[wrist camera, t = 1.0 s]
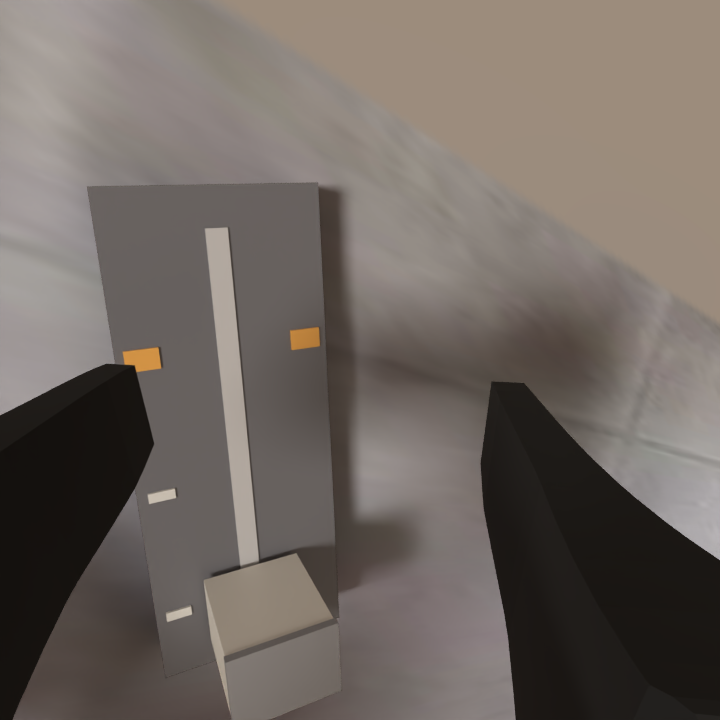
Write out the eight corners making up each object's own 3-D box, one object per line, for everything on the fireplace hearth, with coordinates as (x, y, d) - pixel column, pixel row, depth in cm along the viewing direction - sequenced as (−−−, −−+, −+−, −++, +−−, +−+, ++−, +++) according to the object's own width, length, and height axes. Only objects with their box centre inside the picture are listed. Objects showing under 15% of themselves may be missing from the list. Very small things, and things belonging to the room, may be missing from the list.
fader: (301, 610, 25) (341, 690, 21) (210, 640, 24) (233, 734, 19) (297, 551, 24) (338, 623, 20) (202, 579, 23) (225, 663, 19)
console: (324, 592, 28) (340, 618, 27) (160, 645, 25) (165, 679, 24) (301, 184, 23) (318, 182, 21) (88, 188, 20) (87, 186, 18)
